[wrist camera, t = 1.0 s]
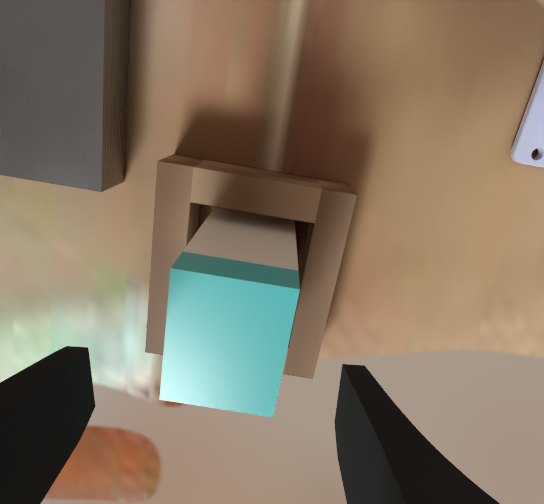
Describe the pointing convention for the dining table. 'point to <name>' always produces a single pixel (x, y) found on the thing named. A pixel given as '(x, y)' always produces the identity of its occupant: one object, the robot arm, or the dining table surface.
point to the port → (64, 91)
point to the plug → (231, 313)
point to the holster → (262, 200)
